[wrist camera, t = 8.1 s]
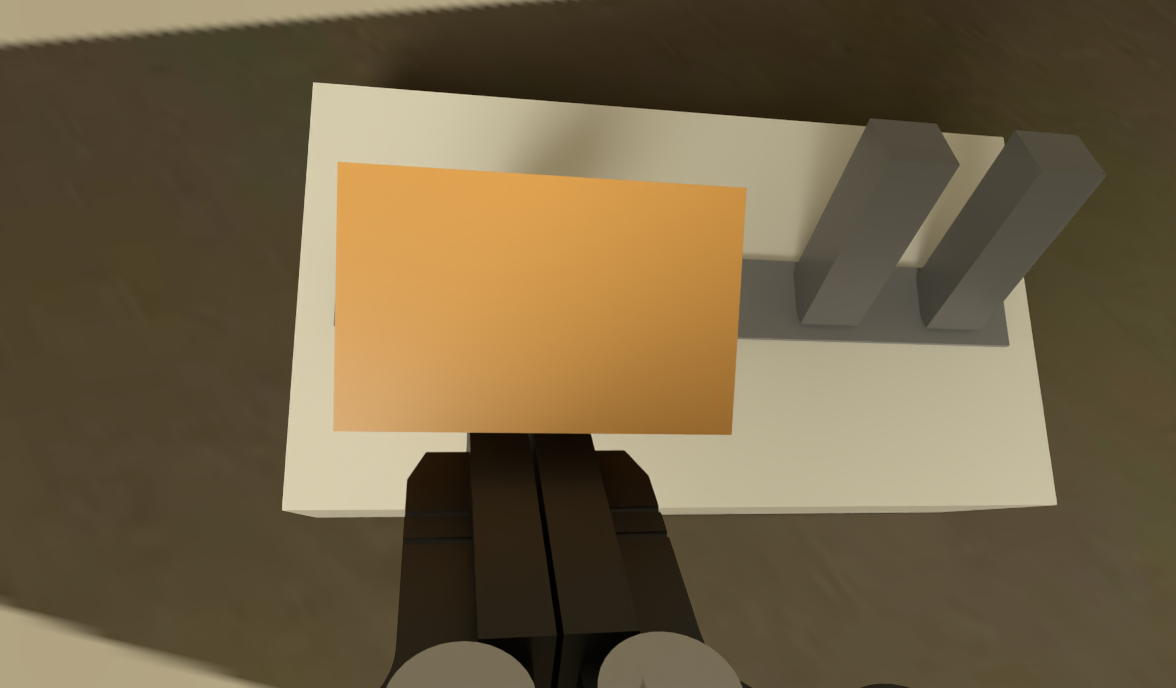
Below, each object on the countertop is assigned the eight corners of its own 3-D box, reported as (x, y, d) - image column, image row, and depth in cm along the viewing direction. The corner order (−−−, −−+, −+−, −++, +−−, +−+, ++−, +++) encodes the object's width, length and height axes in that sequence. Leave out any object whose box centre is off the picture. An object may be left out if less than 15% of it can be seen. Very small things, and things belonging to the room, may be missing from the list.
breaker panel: (904, 208, 33) (1149, 31, 21) (939, 512, 30) (1242, 493, 19) (338, 173, 29) (272, -64, 18) (316, 517, 26) (222, 498, 15)
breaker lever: (573, 232, 22) (746, 188, 9) (568, 336, 22) (731, 434, 9) (404, 223, 21) (337, 161, 8) (402, 331, 21) (333, 431, 9)
